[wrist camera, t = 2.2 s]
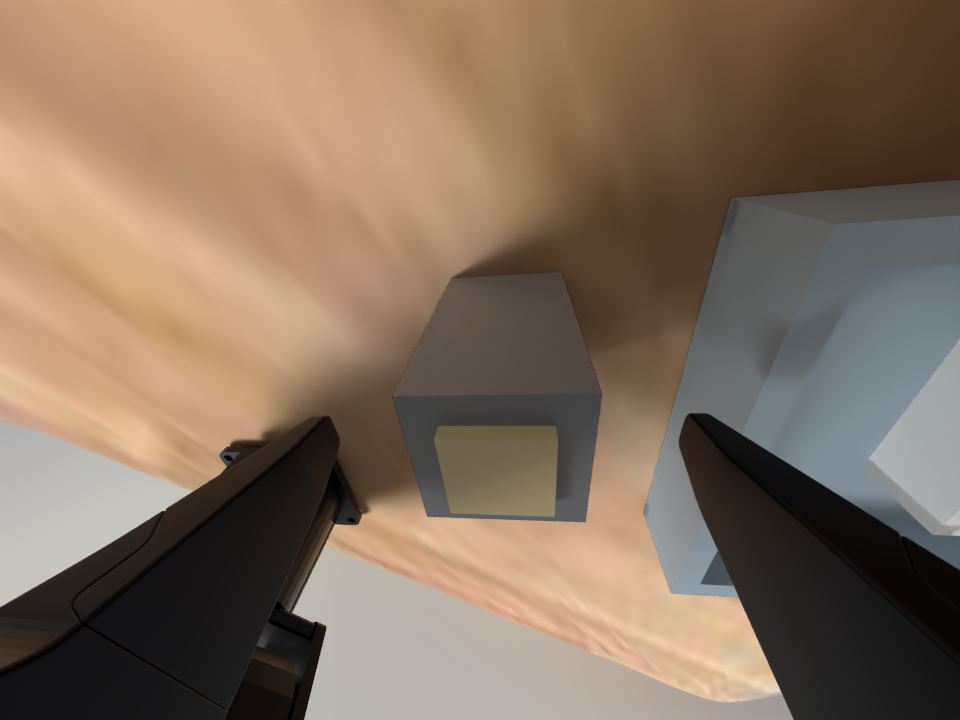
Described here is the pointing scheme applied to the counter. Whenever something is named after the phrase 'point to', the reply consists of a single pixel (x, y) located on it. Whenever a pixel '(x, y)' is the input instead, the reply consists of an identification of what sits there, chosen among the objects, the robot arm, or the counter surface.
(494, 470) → the connector
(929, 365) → the walled box
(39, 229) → the counter surface
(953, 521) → the frame
